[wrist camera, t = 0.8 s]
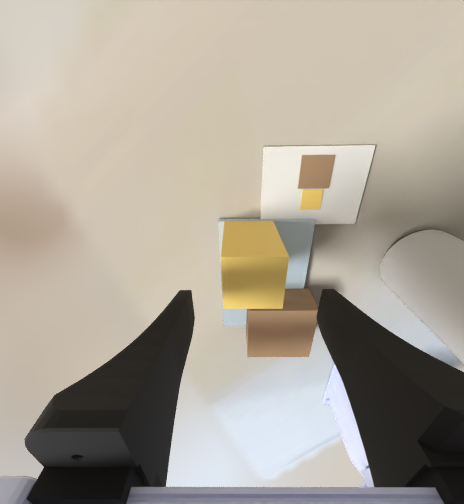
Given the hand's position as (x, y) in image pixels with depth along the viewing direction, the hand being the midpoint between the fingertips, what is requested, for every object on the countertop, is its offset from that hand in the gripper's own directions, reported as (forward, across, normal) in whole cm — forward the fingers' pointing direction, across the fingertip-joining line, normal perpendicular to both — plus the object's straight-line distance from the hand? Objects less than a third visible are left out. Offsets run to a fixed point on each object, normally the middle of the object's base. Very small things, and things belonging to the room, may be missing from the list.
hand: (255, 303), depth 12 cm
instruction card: (+8, -5, -4) cm, 11 cm away
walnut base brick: (+8, -3, +8) cm, 12 cm away
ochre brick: (+8, 0, 0) cm, 8 cm away
